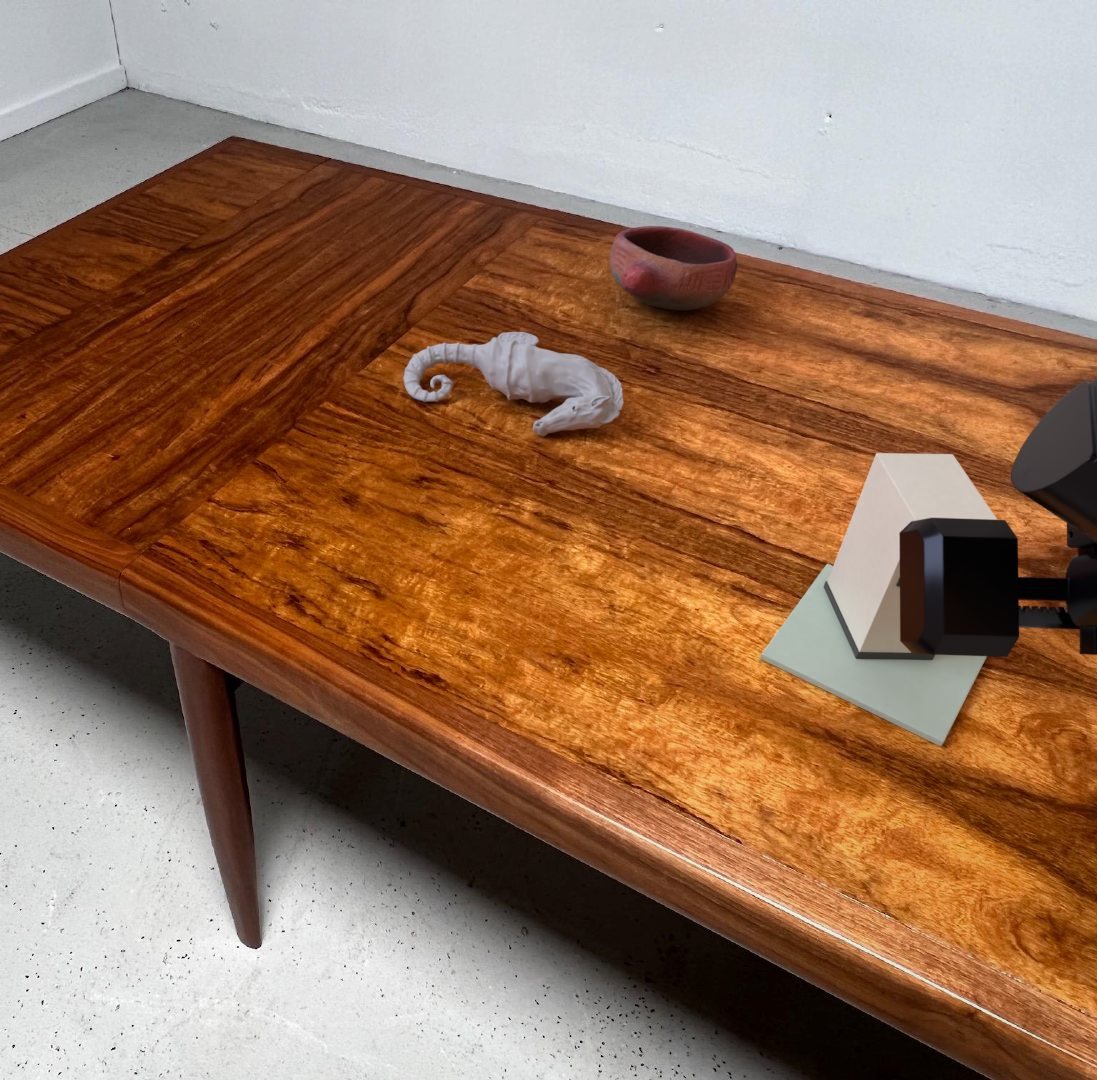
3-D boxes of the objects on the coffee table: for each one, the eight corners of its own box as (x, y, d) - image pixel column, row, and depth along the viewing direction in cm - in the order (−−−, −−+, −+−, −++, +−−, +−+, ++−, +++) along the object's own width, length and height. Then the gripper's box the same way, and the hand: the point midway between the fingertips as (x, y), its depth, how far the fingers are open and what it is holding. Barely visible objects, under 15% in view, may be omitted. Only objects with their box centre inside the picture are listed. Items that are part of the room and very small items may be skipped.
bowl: (600, 272, 116) (611, 202, 111) (719, 279, 115) (735, 208, 110) (607, 345, 104) (619, 270, 99) (740, 353, 103) (759, 278, 98)
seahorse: (388, 415, 93) (622, 414, 88) (406, 315, 98) (627, 310, 93) (398, 449, 97) (622, 451, 92) (416, 352, 103) (627, 349, 98)
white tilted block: (894, 587, 77) (953, 452, 69) (933, 660, 71) (1002, 523, 63) (823, 586, 77) (874, 451, 69) (855, 659, 71) (915, 522, 64)
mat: (994, 640, 73) (997, 635, 73) (941, 747, 66) (943, 742, 66) (825, 568, 79) (827, 563, 79) (759, 658, 72) (761, 653, 72)
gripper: (1473, 391, 42) (1173, 453, 57) (1003, 375, 42) (830, 442, 57) (1486, 674, 41) (1178, 659, 57) (1007, 659, 41) (830, 648, 56)
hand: (1004, 596), depth 57 cm, fingers open, 9 cm apart
